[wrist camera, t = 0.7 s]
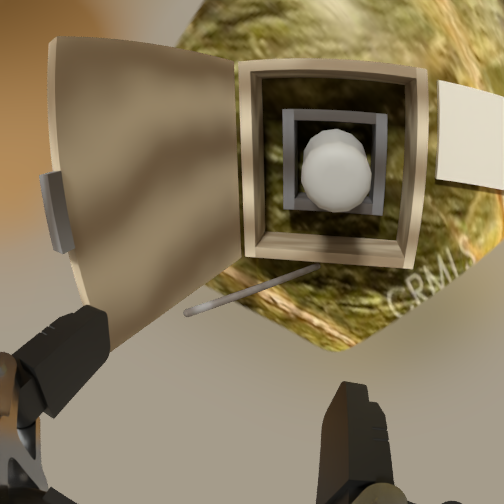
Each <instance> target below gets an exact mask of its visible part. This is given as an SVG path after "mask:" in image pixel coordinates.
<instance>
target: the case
mask: <svg viewBox="0 0 504 504" xmlns="http://www.w3.org/2000/svg"><path fill="white" fill-rule="evenodd" d="M238 67H239V99H240V129H241V158H242V186H243V212H244V237H245V257H258V258H271V259H284V260H297V261H310V262H324V263H337V264H351V265H365V266H378V267H392V268H406V269H413V265H414V260H415V255H416V249H417V243H418V237H419V231H420V224H421V217H422V209H423V200H424V191H425V181H426V168H427V152H428V77H427V69H422V68H417V67H410V66H404V65H397V64H389V63H381V62H371V61H359V60H344V59H315V58H297V59H267V60H252V61H240V62H238ZM267 78H336V79H353V80H366V81H377V82H386V83H394V84H402V85H405V153H404V171H403V185H402V196H401V206H400V215H399V224H398V231H397V239H396V241H393V240H381V239H368V238H355V237H341V236H327V235H312V234H297V233H281V232H265V187H264V142H263V104H262V79H267ZM282 116H283V209H292V210H310V211H327V210H324V209H321V208H319V207H318V206H317V205H316V204H315V203H314V202H312V201H311V200H310V199H309V198H308V196H307V194H306V193H303V192H298V121H325V122H345V123H359V124H371V125H372V144H371V173H372V175H371V185H370V191H369V197H365V198H364V200H363V201H362V203H361V204H359V205H358V206H356V207H354V208H353V209H351V210H350V211H345V212H342V213H356V214H369V215H381V216H382V214H383V203H384V191H385V176H386V157H387V114H380V113H370V112H357V111H342V110H320V109H282ZM327 212H330V211H327ZM319 268H320V264H319V263H315V264H313V265H310V266H307V267H305V268H302V269H299V270H296V271H294V272H291V273H288V274H285V275H283V276H280V277H277V278H274V279H272V280H269V281H266V282H263V283H261V284H258V285H255V286H252V287H249V288H246V289H244V290H241V291H238V292H235V293H232V294H229V295H226V296H224V297H221V298H218V299H215V300H212V301H209V302H206V303H203V304H200V305H197V306H194V307H192V308H188V309H185V310H184V312H183V313H184V316H186V317H190V316H192V315H195V314H198V313H201V312H204V311H207V310H210V309H213V308H216V307H218V306H221V305H224V304H227V303H230V302H232V301H235V300H238V299H241V298H243V297H246V296H249V295H252V294H254V293H257V292H260V291H262V290H265V289H268V288H270V287H273V286H276V285H278V284H281V283H284V282H286V281H289V280H292V279H294V278H297V277H299V276H302V275H304V274H307V273H310V272H312V271H315V270H317V269H319Z"/></svg>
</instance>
